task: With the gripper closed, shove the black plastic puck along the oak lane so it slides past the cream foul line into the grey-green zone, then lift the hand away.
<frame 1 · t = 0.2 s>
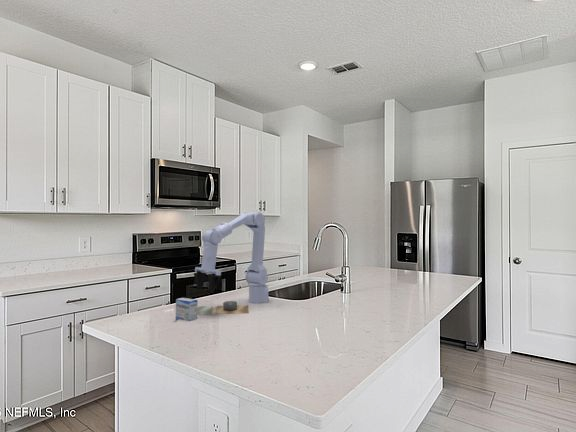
hand: (205, 290, 158), 11 cm above the counter, tool pointing down, fingers open, 7 cm apart
medicine box: (186, 321, 152), on the counter
puck: (230, 309, 166), point 1 cm above the counter, touching lane
lane: (216, 312, 165), on the counter
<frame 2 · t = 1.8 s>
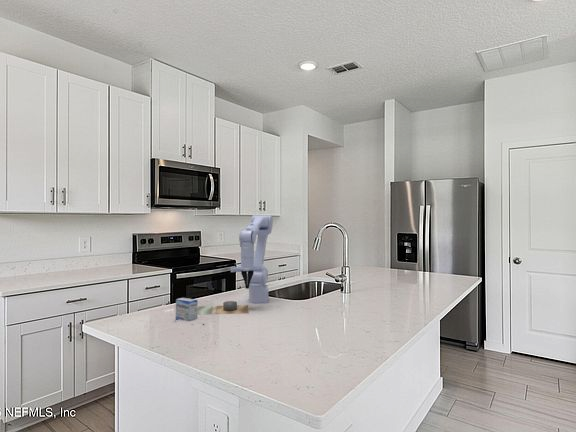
hand: (247, 288, 167), 10 cm above the counter, tool pointing down, fingers closed
nothing on the counter moved.
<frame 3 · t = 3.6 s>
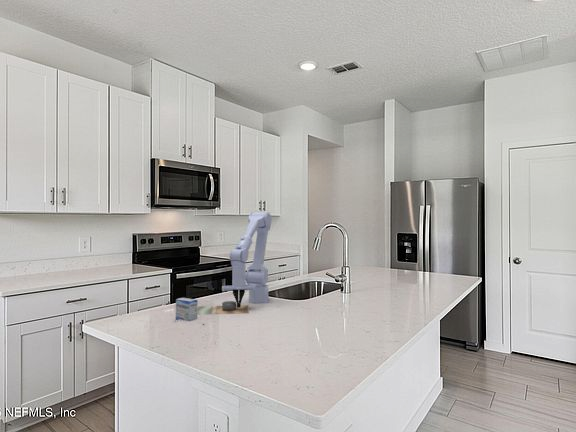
hand: (238, 306, 166), 2 cm above the counter, tool pointing down, fingers closed
puck: (229, 309, 166), point 1 cm above the counter, touching gripper, lane
everything else where it was.
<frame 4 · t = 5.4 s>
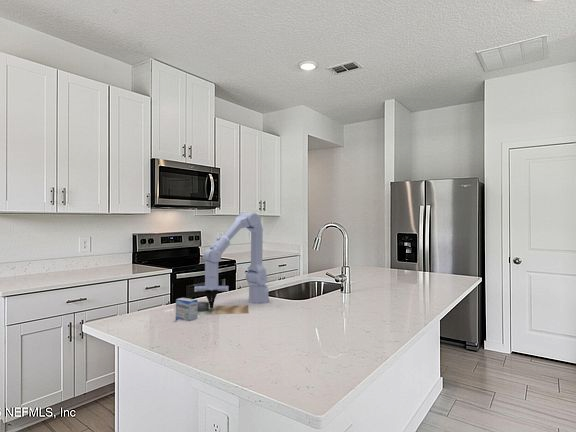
hand: (211, 307, 165), 2 cm above the counter, tool pointing down, fingers closed
puck: (201, 309, 165), point 1 cm above the counter, touching gripper, lane
everything else where it was.
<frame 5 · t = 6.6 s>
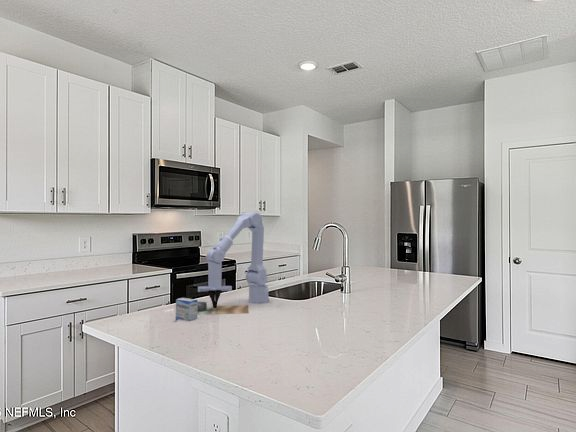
hand: (215, 307, 165), 2 cm above the counter, tool pointing down, fingers closed
puck: (199, 310, 165), point 1 cm above the counter, touching lane
everything else where it was.
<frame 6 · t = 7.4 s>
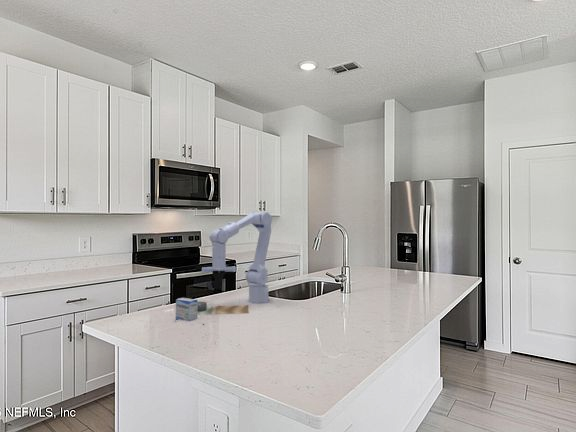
hand: (218, 288, 166), 10 cm above the counter, tool pointing down, fingers closed
nothing on the counter moved.
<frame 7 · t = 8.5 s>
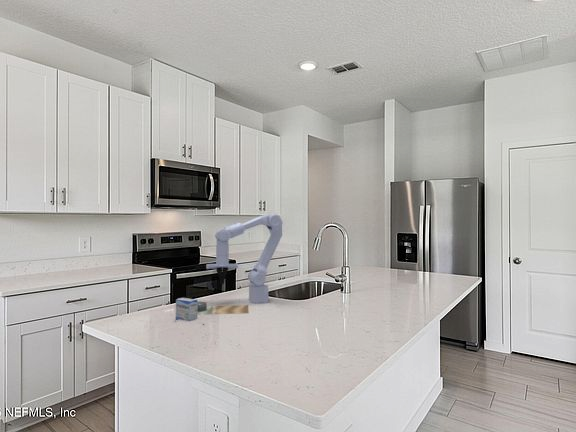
hand: (222, 284, 175), 10 cm above the counter, tool pointing down, fingers closed
nothing on the counter moved.
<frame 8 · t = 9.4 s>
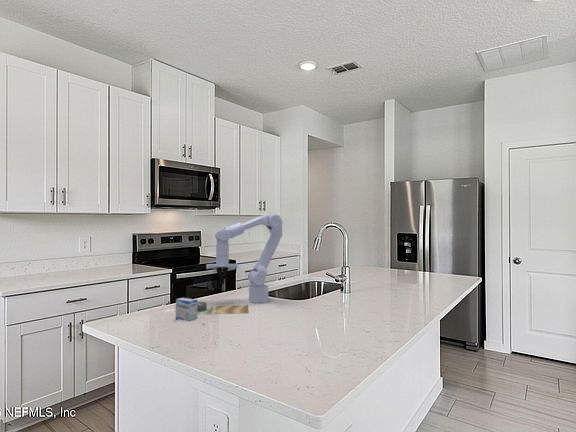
hand: (222, 284, 175), 10 cm above the counter, tool pointing down, fingers closed
nothing on the counter moved.
at the end: puck inside the target area (1.4 cm from its centre), point 1.0 cm above the counter; puck moved 13.2 cm from its start; the gripper is holding nothing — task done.
